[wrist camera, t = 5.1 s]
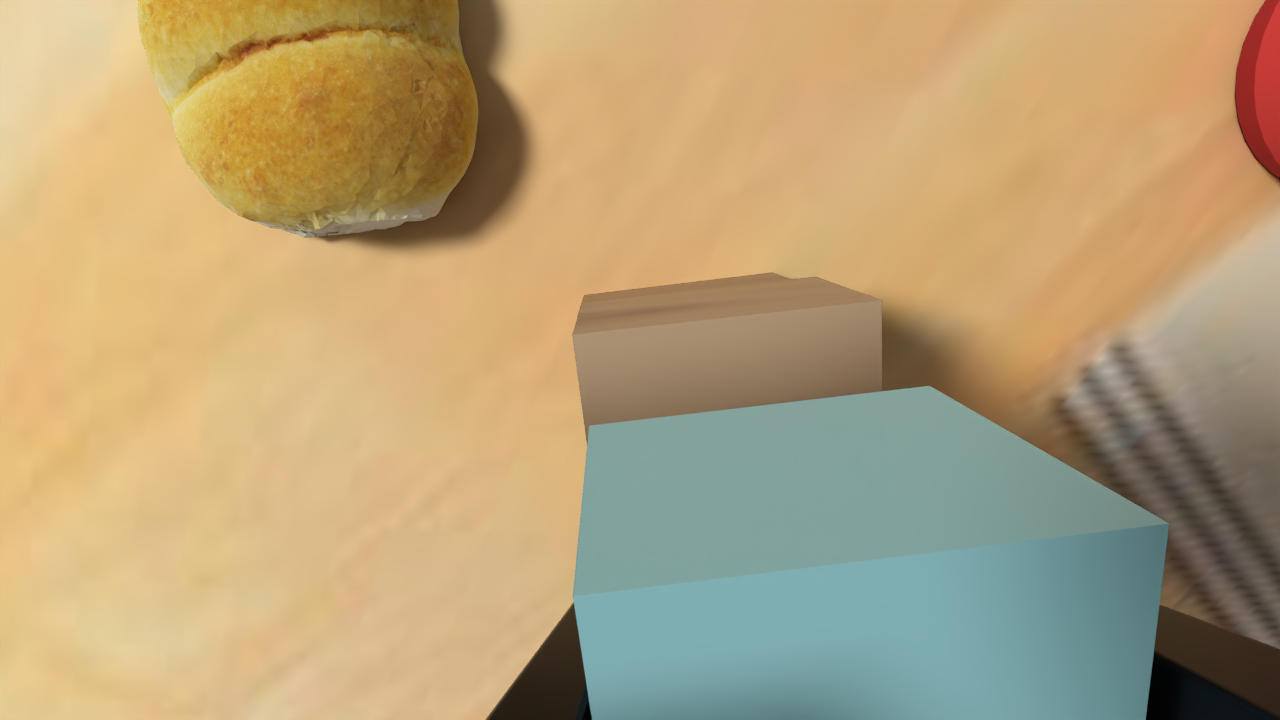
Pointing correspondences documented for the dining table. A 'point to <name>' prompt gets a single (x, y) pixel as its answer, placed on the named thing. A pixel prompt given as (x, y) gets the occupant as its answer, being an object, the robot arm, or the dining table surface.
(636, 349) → the tower top
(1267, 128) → the canned food
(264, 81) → the bread roll
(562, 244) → the dining table surface
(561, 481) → the dining table surface
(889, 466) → the teal block
